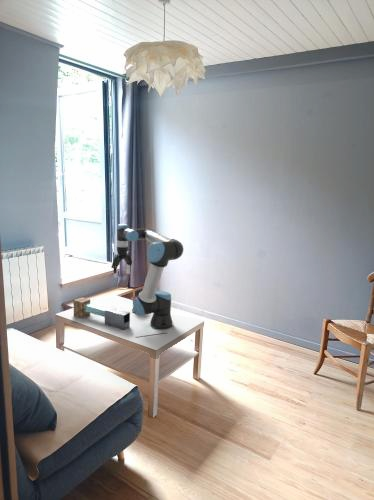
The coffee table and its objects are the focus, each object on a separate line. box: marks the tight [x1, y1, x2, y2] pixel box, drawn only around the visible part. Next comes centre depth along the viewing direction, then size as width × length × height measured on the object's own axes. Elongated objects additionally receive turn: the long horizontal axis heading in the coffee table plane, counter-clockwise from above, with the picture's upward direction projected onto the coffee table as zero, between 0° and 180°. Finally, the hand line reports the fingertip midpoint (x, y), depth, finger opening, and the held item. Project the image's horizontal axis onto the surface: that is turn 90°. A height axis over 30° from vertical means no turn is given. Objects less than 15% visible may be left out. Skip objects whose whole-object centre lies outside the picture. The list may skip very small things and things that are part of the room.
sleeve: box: [104, 306, 131, 331], centre depth 247 cm, size 16×7×10 cm, turn 60°
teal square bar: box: [83, 301, 108, 318], centre depth 256 cm, size 28×6×6 cm, turn 60°
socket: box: [73, 297, 91, 319], centre depth 263 cm, size 8×8×12 cm
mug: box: [131, 295, 139, 313], centre depth 276 cm, size 12×9×11 cm
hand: (122, 275), depth 265 cm, fingers open, 13 cm apart
